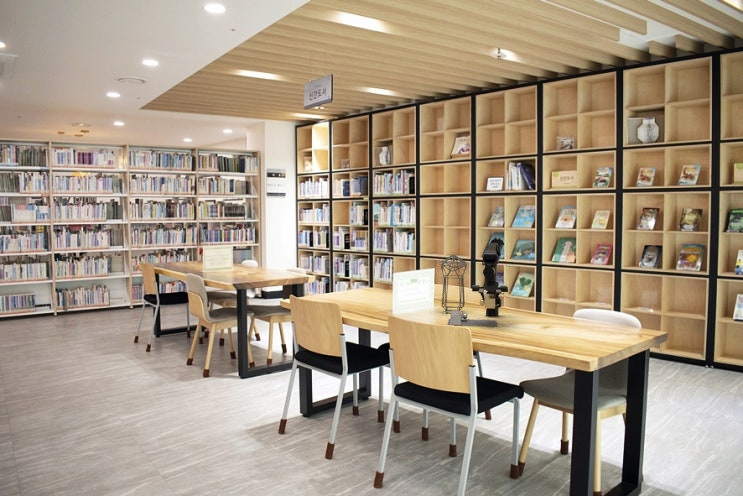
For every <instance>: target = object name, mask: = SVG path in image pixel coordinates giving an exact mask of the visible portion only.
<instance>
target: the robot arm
mask: <svg viewBox="0 0 743 496" xmlns="http://www.w3.org/2000/svg"><path fill="white" fill-rule="evenodd" d="M501 257H502V248H501V246H499V245H498V243H497V242H490V243H488V244H487V246H486V247H485V251H484V253H483V254H482V259H481V261H482V263H481V265H482V266H484V269H483V270H482V274H483V277H484V280H483V281H484V285H483V286H480V285H479V284H473V285H471V292H476V293H478V294H480V297H481V298H482V299H483V300H485V294H494V296H495V308H485V316H486V317H488V318H491V317H493V318H495V317H496V318H497V317H498V316H499V308H502V299H501V297H500V295H501V294H503V293H508V292H509V287H508V286H507V285H499V284H500V283H499V281H498V280H497V279H498V278H497V276H498V275H497V273H498V265H499V262H500V260H501ZM485 291H486V293H485Z"/></svg>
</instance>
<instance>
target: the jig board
mask: <svg viewBox="0 0 743 496" xmlns="http://www.w3.org/2000/svg"><path fill="white" fill-rule="evenodd" d="M447 325H450V318H449V319H448V321H447ZM453 327H477V328H478V327H481V328H484V327H485V328H498V327H499V326H498V321H497V319H469V318H467V319H461V326H460V325H454V326H453Z"/></svg>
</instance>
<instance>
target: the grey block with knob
mask: <svg viewBox="0 0 743 496" xmlns="http://www.w3.org/2000/svg"><path fill="white" fill-rule="evenodd" d="M450 310H451V311H450V315H449V316H450V318H449V319H450V325H460V326H459V327H462V326H461V319H468V314H467V313H462V311H463V310H460V311H455V310H456V309H450Z"/></svg>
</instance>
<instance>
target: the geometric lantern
mask: <svg viewBox="0 0 743 496" xmlns="http://www.w3.org/2000/svg"><path fill="white" fill-rule="evenodd" d="M450 259H451V261H449V260H450ZM448 261H449V262H448ZM458 261H459V262H458ZM467 265H468V263H467V261H465V260H463V259H462V258H461V257H459V256H457V254H451V255H449V256H448V257H446V258H445V259H444V260H442V261H440V269H441V271H442V278H443V283H442V284H443V286H442V297H441V308H443V309H444V310H445V314H449V312H451V310H452V309H454V308H456V309H454V310H455V311H462V309H463V308H465V301H466V300H465V283H464V274H465V271H466V270H467V269H466V268H467ZM445 268H446V269H447V270H448V273H447V272H446V269H445ZM461 268H464V269H463V272H461V271H460V269H461ZM452 269H453V270H452ZM457 271H459V272H460V274H458V273H457ZM451 272H455V274H450V273H451ZM444 273H445V274H444ZM449 276H451V277H452V279H457V280H458V285H459V288H458V289H459V293H460V295H459V301H457V302H453V301H451V302H450V301H448V290H449V289H448V287H449V286H448V285H449ZM453 276H457V277H453ZM448 304H458V306H452V305H451V306H450V305H449V306H448ZM461 304H462V305H461ZM449 308H452V309H449Z"/></svg>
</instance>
